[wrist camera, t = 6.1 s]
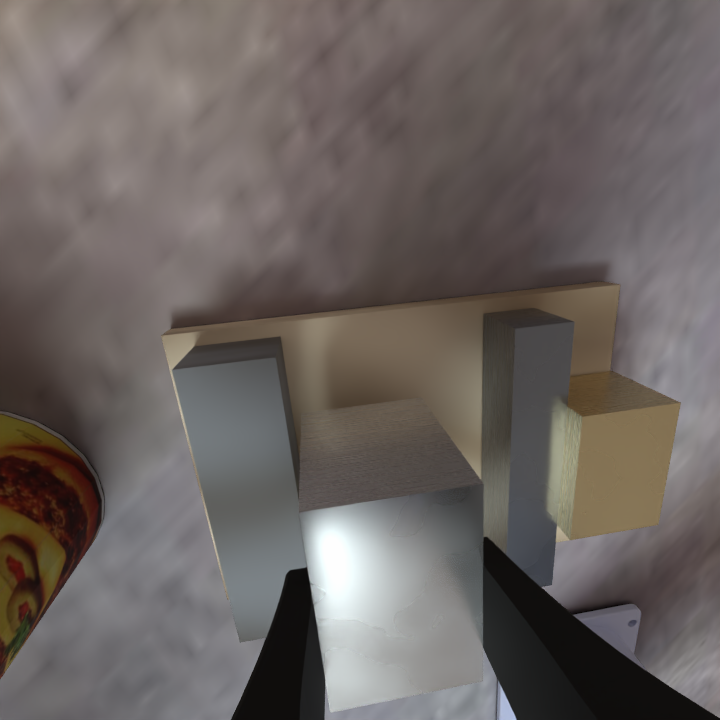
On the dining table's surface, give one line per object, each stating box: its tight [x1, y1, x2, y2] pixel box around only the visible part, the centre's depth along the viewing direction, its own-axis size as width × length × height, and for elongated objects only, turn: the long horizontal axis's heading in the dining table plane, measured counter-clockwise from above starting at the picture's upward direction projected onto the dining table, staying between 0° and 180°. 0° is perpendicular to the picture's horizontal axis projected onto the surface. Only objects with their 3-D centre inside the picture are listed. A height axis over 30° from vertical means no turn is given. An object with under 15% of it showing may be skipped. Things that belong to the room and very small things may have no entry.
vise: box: [161, 281, 620, 642], centre depth 16 cm, size 12×17×4 cm
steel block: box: [299, 398, 484, 713], centre depth 12 cm, size 4×6×5 cm, turn 5°
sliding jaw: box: [481, 308, 681, 587], centre depth 15 cm, size 11×6×3 cm, turn 5°
